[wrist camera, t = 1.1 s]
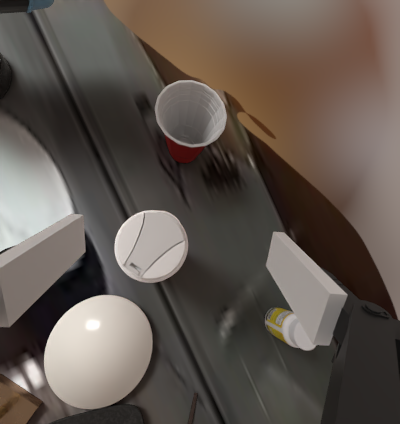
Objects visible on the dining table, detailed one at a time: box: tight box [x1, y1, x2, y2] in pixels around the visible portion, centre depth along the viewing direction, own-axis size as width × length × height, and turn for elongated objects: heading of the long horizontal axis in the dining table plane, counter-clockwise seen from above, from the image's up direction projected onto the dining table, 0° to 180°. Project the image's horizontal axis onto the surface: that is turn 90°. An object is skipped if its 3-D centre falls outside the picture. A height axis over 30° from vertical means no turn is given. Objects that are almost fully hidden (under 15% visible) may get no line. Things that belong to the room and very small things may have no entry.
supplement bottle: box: [265, 307, 316, 351], centre depth 35 cm, size 5×5×8 cm
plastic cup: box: [155, 80, 227, 163], centre depth 37 cm, size 11×11×12 cm
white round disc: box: [44, 295, 153, 409], centre depth 33 cm, size 15×15×1 cm
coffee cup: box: [115, 210, 188, 283], centre depth 31 cm, size 8×8×15 cm
